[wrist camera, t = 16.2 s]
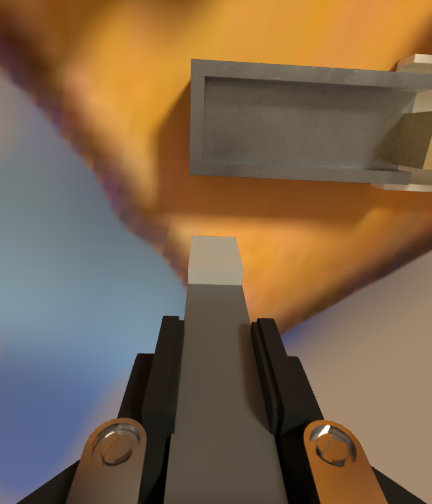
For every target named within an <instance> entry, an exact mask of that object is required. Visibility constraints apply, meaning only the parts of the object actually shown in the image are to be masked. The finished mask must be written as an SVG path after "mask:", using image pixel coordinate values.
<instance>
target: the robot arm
mask: <svg viewBox="0 0 432 504" xmlns="http://www.w3.org/2000/svg"><path fill="white" fill-rule="evenodd" d="M184 334H185V320H179V316H163V319H162V324H161V328H160V332H159V337H158V341H157V345H156V349H155V354H144V353H138V354H137V356H136V359H135V362H134V365H133V369H132V372H131V375H130V378H129V381H128V385H127V388H126V391H125V394H124V397H123V401H122V404H121V407H120V410H119V413H118V417H117V419H113V420H110V421H107V422H105V423H103V424H102V425H101V426H99V427H98V428H97V429H95V431H94V432H93V433H92V434H91V435H90V436H89V439H88V440H87V442H86V444H85V447H84V451H83V453H82V456H81V459H80V460H78V461H77V462H76V463H74V464H73V465H71V466H70V467H68V468H67V469H65V470H64V471H62V472H61V473H60V474H58V475H57V476H55V477H54V478H53V479H51V480H50V481H48V482H47V483H45V484H44V485H42V486H41V487H40V488H38V489H37V490H35V491H34V492H33V493H31V494H30V495H28V496H27V497H25V498H24V499H22V500H21V501H20V502H18V503H17V504H164V496H165V487H166V478H167V469H168V460H169V451H170V442H171V434H174V432H175V422H176V412H177V402H178V393H179V383H180V373H181V363H182V353H183V344H184ZM250 334H251V339H252V344H253V349H254V354H255V359H256V364H257V369H258V374H259V379H260V384H261V389H262V394H263V399H264V403H265V408H266V413H267V418H268V423H269V428H270V433H271V435H274V439H275V444H276V448H277V453H278V458H279V462H280V467H281V472H282V476H283V481H284V486H285V491H286V495H287V500H288V504H426V503H425V502H423V501H422V500H421V499H419V498H418V497H416V496H415V495H413V494H411V493H410V492H409V491H407V490H406V489H404V488H403V487H401V486H400V485H399V484H397V483H396V482H394V481H393V480H391V479H390V478H388V477H387V476H385V475H384V474H382V473H381V472H379V471H378V470H376V469H375V468H374V467H372V466H371V465H370V463H369V461H368V459H367V457H366V454H365V453H364V450H363V448H362V446H361V444H360V442H359V441H358V439H357V438H356V437H355V436H354V435H353V434H352V433H351V432H350V431H349V430H348V429H347V428H345V427H344V426H342V425H340V424H338V423H335V422H333V421H328V420H324V418H323V415H322V413H321V410H320V408H319V406H318V403H317V401H316V398H315V396H314V394H313V391H312V389H311V386H310V384H309V381H308V379H307V376H306V374H305V371H304V369H303V367H302V365H301V362H300V360H299V358H298V357H294V356H287V354H286V351H285V348H284V346H283V343H282V340H281V337H280V335H279V332H278V329H277V326H276V323H275V321H274V319H272V318H258V319H257V322H252V324H251V332H250Z"/></svg>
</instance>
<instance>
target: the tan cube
mask: <svg viewBox="0 0 432 504" xmlns="http://www.w3.org/2000/svg"><path fill="white" fill-rule="evenodd" d="M392 164H394V165H400V166H406V167H412V168H418V169H427V170H432V111H427V112H416V113H405V114H404V117H403V121H402V125H401V129H400V133H399V137H398V141H397V146H396V150H395V154H394V158H393V162H392Z"/></svg>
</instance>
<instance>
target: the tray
mask: <svg viewBox="0 0 432 504" xmlns="http://www.w3.org/2000/svg"><path fill="white" fill-rule="evenodd" d="M396 72H408V73H424V74H432V55H426V54H414V55H411V56H409V57H406V58H403V59H401V60H398V63H397V68H396ZM427 111H432V90H429V91H424V92H419V93H417V95H416V99H415V103H414V107H413V111H412V113H416V112H427ZM398 170H402V171H407V172H412V174H411V177H410V181H409V185H400V184H378V183H371V184H370V186H373V187H376V188H379V189H382V190H399V191H421V192H432V170H427V169H418V168H412V167H406V166H400V165H399V166H398Z"/></svg>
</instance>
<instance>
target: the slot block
mask: <svg viewBox="0 0 432 504" xmlns="http://www.w3.org/2000/svg"><path fill="white" fill-rule="evenodd" d="M429 90H432V74H424V73H408V72H392V71H376V70H360V69H344V68H328V67H312V66H296V65H280V64H264V63H248V62H232V61H216V60H200V59H191V97H190V153H189V175H206V176H228V177H249V178H271V179H292V180H314V181H335V182H357V183H378V184H400V185H409V181H410V177H411V174H412V172H407V171H402V170H398V166H399V165H394V164H392V162H393V158H394V154H395V150H396V146H397V141H398V137H399V133H400V129H401V125H402V121H403V117H404V114H405V113H412V111H413V107H414V103H415V99H416V95H417V93H419V92H424V91H429Z"/></svg>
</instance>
